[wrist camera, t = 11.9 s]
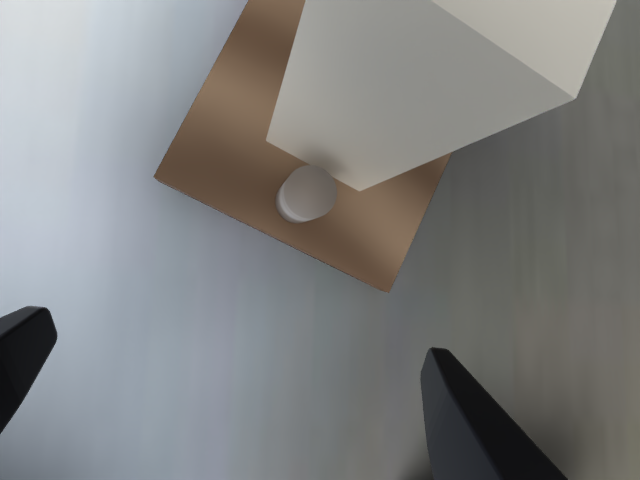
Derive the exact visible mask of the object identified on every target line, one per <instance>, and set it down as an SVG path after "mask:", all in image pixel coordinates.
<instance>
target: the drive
mask: <svg viewBox="0 0 640 480" xmlns="http://www.w3.org/2000/svg"><path fill="white" fill-rule="evenodd" d="M616 1H617V0H306V1H305V4H304V8H303V11H302V15H301V18H300V22H299V25H298V29H297V32H296V36H295V39H294V43H293V46H292V50H291V53H290V57H289V60H288V64H287V67H286V71H285V74H284V78H283V81H282V85H281V88H280V92H279V95H278V99H277V102H276V106H275V109H274V113H273V116H272V120H271V123H270V127H269V130H268V134H267V137H266V141H267V142H269V143H271V144H273V145H274V146H276V147H278V148H280V149H282V150H284V151H285V152H287V153H289V154H291V155H293V156H295V157H297V158H298V159H300V160H302V161H304V162H306V163H308V164H310V165H314V166H318V167H321V168H323V169H324V170H326V171H327V172H328V173H329V174H330V175H331V176H332V177H334V178H335V179H337V180H339V181H341V182H343V183H345V184H346V185H348V186H350V187H352V188H354V189H356V190H358V191H362V190H364V189H366V188H369V187H371V186H373V185H376V184H378V183H381V182H383V181H385V180H388V179H390V178H392V177H395V176H397V175H399V174H402V173H404V172H406V171H409V170H411V169H413V168H416V167H418V166H420V165H423V164H425V163H427V162H430V161H432V160H434V159H437V158H439V157H441V156H444V155H446V154H448V153H451V152H453V151H455V150H458V149H460V148H462V147H465V146H467V145H469V144H472V143H474V142H476V141H479V140H481V139H483V138H486V137H488V136H490V135H493V134H495V133H497V132H500V131H502V130H504V129H507V128H509V127H511V126H514V125H516V124H518V123H521V122H523V121H525V120H528V119H530V118H532V117H535V116H537V115H539V114H542V113H544V112H546V111H549V110H551V109H553V108H556V107H558V106H560V105H563V104H565V103H567V102H570V101H572V100H574V99H576V97H577V95H578V92H579V90H580V88H581V85H582V83H583V80H584V78H585V76H586V73H587V71H588V68H589V66H590V64H591V61H592V59H593V56H594V54H595V52H596V49H597V47H598V45H599V42H600V40H601V37H602V35H603V33H604V30H605V28H606V25H607V23H608V21H609V18H610V16H611V13H612V11H613V9H614V6H615V4H616Z"/></svg>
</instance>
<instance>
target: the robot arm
mask: <svg viewBox="0 0 640 480" xmlns="http://www.w3.org/2000/svg"><path fill="white" fill-rule="evenodd" d="M56 340H57V331H56V328H55V325H54V322H53V319H52V316H51V313H50V311H49V310H48V309H47V308H45V307H37V306H26V307H24V308H21V309H19V310H17V311H15V312H12V313H10V314H8V315H6V316H3V317H1V318H0V434H1V432H2V431H3V430H4V428H5V427H6V425H7V424H8V422H9V421H10V420H11V418H12V417H13V415H14V414H15V412H16V411H17V409H18V408H19V406H20V405H21V403H22V401H23V400H24V398H25V397H26V395H27V393H28V391H29V390H30V388H31V386H32V384H33V383H34V381H35V379H36V377H37V375H38V374H39V372H40V370H41V368H42V367H43V365H44V363H45V361H46V359H47V358H48V356H49V354H50V352H51V351H52V349H53V347H54V345H55V343H56ZM421 390H422V401H423V411H424V421H425V431H426V440H427V447H428V453H429V458H430V463H431V467H432V472H433V477H434V480H568V479H567V478H566V477H565V476H564V475H563V474H562V472H561V471H560V470H559V469H558V468H557V467H556V466H555V465H554V464H553V463H552V462H551V461H550V459H549V458H548V457H547V456H546V455H545V454H544V453H543V452H542V451H541V450H540V449H539V448H538V446H537V445H536V444H535V443H534V442H533V441H532V440H531V439H530V438H529V437H528V436H527V435H526V433H525V432H524V431H523V430H522V429H521V428H520V427H519V426H518V425H517V424H516V423H515V421H514V420H513V419H512V418H511V417H510V416H509V415H508V414H507V413H506V412H505V411H504V410H503V408H502V407H501V406H500V405H499V404H498V403H497V402H496V401H495V400H494V399H493V398H492V397H491V395H490V394H489V393H488V392H487V391H486V390H485V389H484V388H483V387H482V386H481V385H480V384H479V382H478V381H477V380H476V379H475V378H474V377H473V376H472V375H471V374H470V373H469V372H468V371H467V369H466V368H465V367H464V366H463V365H462V364H461V363H460V362H459V361H458V360H457V359H456V358H455V356H454V355H453V354H452V353H451V352H450V351H449V350H447V349H444V348H435V347H432V348H430V349H429V350H428V352H427V355H426V358H425V361H424V364H423V367H422V370H421Z"/></svg>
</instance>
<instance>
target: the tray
mask: <svg viewBox="0 0 640 480" xmlns="http://www.w3.org/2000/svg"><path fill="white" fill-rule="evenodd" d="M305 1H306V0H249V1H248V2H247V4H246V6H245V8H244V10H243V12H242V14H241V15H240V17H239V19H238V21H237V23H236V25H235V27H234V28H233V30H232V32H231V34H230V36H229V38H228V40H227V41H226V43H225V45H224V47H223V49H222V51H221V53H220V54H219V56H218V58H217V60H216V62H215V64H214V65H213V67H212V69H211V71H210V73H209V75H208V77H207V78H206V80H205V82H204V84H203V86H202V88H201V90H200V91H199V93H198V95H197V97H196V99H195V101H194V103H193V104H192V106H191V108H190V110H189V112H188V114H187V115H186V117H185V119H184V121H183V123H182V125H181V127H180V128H179V130H178V132H177V134H176V136H175V138H174V140H173V141H172V143H171V145H170V147H169V149H168V151H167V153H166V154H165V156H164V158H163V160H162V162H161V164H160V166H159V167H158V169H157V171H156V173H155V175H154V178H155V179H157V180H158V181H159V182H161V183H163V184H165V185H167V186H169V187H171V188H173V189H175V190H177V191H180V192H182V193H184V194H186V195H188V196H190V197H192V198H194V199H196V200H198V201H200V202H202V203H204V204H206V205H208V206H210V207H212V208H214V209H216V210H218V211H220V212H222V213H224V214H226V215H228V216H230V217H232V218H234V219H236V220H238V221H241V222H243V223H245V224H247V225H249V226H251V227H253V228H255V229H257V230H259V231H261V232H263V233H265V234H267V235H269V236H271V237H273V238H275V239H277V240H279V241H281V242H283V243H285V244H287V245H289V246H291V247H293V248H295V249H297V250H299V251H301V252H304V253H306V254H308V255H310V256H312V257H314V258H316V259H318V260H320V261H322V262H324V263H326V264H328V265H330V266H332V267H334V268H336V269H338V270H340V271H342V272H344V273H346V274H348V275H350V276H352V277H354V278H356V279H358V280H360V281H362V282H365V283H367V284H369V285H371V286H373V287H375V288H377V289H379V290H381V291H384V292H388V293H389V291H390V289H391V287H392V285H393V283H394V280H395V278H396V276H397V274H398V271H399V269H400V267H401V265H402V263H403V260H404V258H405V256H406V254H407V251H408V249H409V247H410V245H411V243H412V240H413V238H414V236H415V234H416V231H417V229H418V227H419V225H420V223H421V220H422V218H423V216H424V214H425V211H426V209H427V207H428V205H429V203H430V200H431V198H432V196H433V194H434V192H435V189H436V187H437V185H438V183H439V180H440V178H441V176H442V174H443V172H444V169H445V167H446V165H447V163H448V160H449V158H450V156H451V154H452V152H451V153H448V154H446V155H444V156H441V157H439V158H437V159H434V160H432V161H430V162H427V163H425V164H423V165H420V166H418V167H416V168H413V169H411V170H409V171H406V172H404V173H402V174H399V175H397V176H395V177H392V178H390V179H388V180H385V181H383V182H381V183H378V184H376V185H373V186H371V187H369V188H366V189H364V190H362V191H358V190H356V189H354V188H352V187H350V186H348V185H346V184H345V183H343V182H341V181H339V180H337V179H335V178H334V177H332V176H331V175H330V174H329V173H328V172H327V171H326V170H324V169H323V168H321V167H318V166H314V165H310V164H308V163H306V162H304V161H302V160H300V159H298V158H297V157H295V156H293V155H291V154H289V153H287V152H285V151H284V150H282V149H280V148H278V147H276V146H274V145H273V144H271V143H269V142H267V141H266V137H267V134H268V130H269V127H270V123H271V120H272V116H273V113H274V109H275V106H276V102H277V99H278V95H279V92H280V88H281V85H282V81H283V78H284V74H285V71H286V67H287V64H288V60H289V57H290V53H291V50H292V46H293V43H294V39H295V36H296V32H297V29H298V25H299V22H300V18H301V15H302V11H303V8H304V4H305Z"/></svg>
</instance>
